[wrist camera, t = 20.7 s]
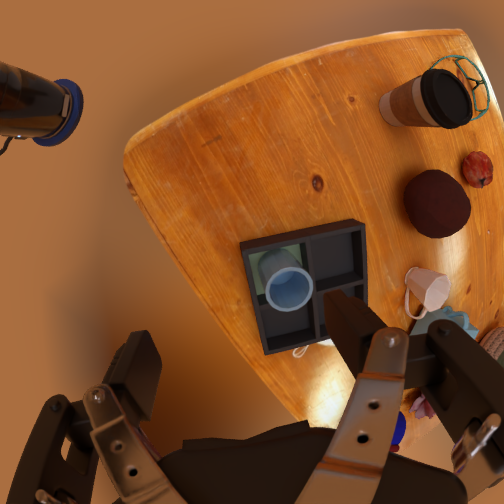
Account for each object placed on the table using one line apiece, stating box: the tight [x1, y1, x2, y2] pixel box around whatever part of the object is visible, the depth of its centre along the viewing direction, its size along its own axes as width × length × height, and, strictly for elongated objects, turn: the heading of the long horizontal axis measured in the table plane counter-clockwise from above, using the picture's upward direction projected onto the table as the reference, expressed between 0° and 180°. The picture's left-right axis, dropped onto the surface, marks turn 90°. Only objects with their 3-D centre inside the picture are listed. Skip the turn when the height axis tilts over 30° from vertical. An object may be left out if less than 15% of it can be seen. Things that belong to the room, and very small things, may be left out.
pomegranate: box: [462, 151, 493, 188], centre depth 36 cm, size 7×7×10 cm
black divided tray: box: [240, 219, 368, 355], centre depth 41 cm, size 18×18×4 cm
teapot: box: [409, 306, 479, 339], centre depth 44 cm, size 18×16×13 cm
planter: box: [480, 327, 504, 368], centre depth 47 cm, size 20×20×21 cm
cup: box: [405, 267, 451, 319], centre depth 41 cm, size 7×10×8 cm
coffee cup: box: [379, 69, 473, 129], centre depth 28 cm, size 8×8×15 cm
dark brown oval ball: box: [404, 170, 471, 238], centre depth 35 cm, size 11×13×10 cm
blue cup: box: [257, 248, 313, 312], centre depth 37 cm, size 6×6×8 cm
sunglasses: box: [429, 55, 490, 121], centre depth 33 cm, size 14×15×5 cm
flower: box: [409, 393, 436, 419], centre depth 53 cm, size 15×15×10 cm
